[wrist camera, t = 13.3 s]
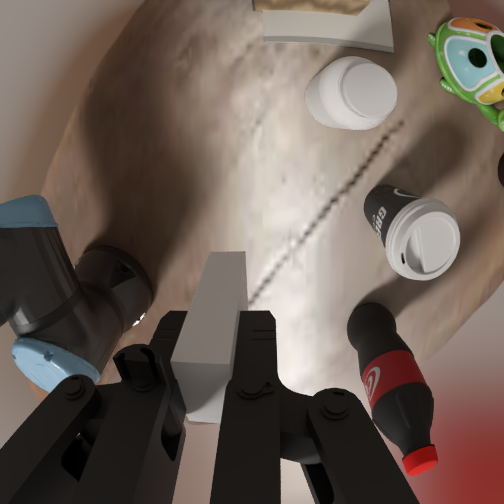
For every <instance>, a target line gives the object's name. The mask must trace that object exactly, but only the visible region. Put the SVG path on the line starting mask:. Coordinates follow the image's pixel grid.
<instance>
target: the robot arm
mask: <svg viewBox="0 0 504 504" xmlns="http://www.w3.org/2000/svg"><path fill="white" fill-rule="evenodd" d="M57 227H58V224H57V223H56V222H55V220H54V218H53V215H52V213H51V210H50V208H49V205H48V203H47V201H46V199H45V198H44V197H42V196H40V195H29V196H24V197H21V198H17V199H14V200H11V201H8V202H5V203H2V204H0V327H1V326H2V325H3V324H5V323H6V322H9V324H10V326H11V327H12V329H13V331H14V332H15V334H16V336H17V339H15V341H14V342H13V346H12V354H13V359H14V361H15V362H16V364H17V366H18V367H19V368H20V369H21V371H22V372H23V373H24V374H25V375H26V376H27V377H28V378H29V379H30V380H31V381H33V382H34V383H35V384H37V385H38V386H40V387H41V388H43V389H44V390H46V391H48V392H50V394H49V395H48V396H47V397H46V398H45V399H44V400H43V401H42V402H41V403H40V405H39V406H38V407H37V408H36V409H35V410H34V411H33V413H32V414H31V415H30V416H29V417H28V418H27V419H26V420H25V421H24V422H23V424H22V425H21V426H20V427H19V428H18V429H17V430H16V432H15V433H14V434H13V435H12V436H11V437H10V439H9V440H8V441H7V442H6V443H5V444H4V446H3V447H2V448H1V449H0V504H172V500H173V495H174V490H175V485H176V480H177V475H178V470H179V465H180V460H181V455H182V451H183V446H184V442H185V437H186V430H185V427H184V424H183V423H184V418H185V414H186V413H187V416H188V419H189V421H198V422H212V423H221V424H220V431H219V438H218V446H217V453H216V460H215V467H214V475H213V482H212V490H211V498H210V504H281V471H280V458H283V459H287V460H291V461H295V462H299V463H300V464H301V467H302V470H303V472H304V475H305V478H306V480H307V483H308V486H309V488H310V491H311V494H312V496H313V498H314V502H315V504H420V503H419V501H418V500H417V498H416V496H415V494H414V493H413V491H412V489H411V487H410V486H409V484H408V482H407V480H406V479H405V477H404V475H403V473H402V472H401V470H400V468H399V466H398V465H397V463H396V461H395V460H394V458H393V456H392V454H391V453H390V451H389V449H388V447H387V445H386V444H385V442H384V440H383V439H382V437H381V435H380V433H379V432H378V430H377V428H376V427H375V425H374V423H373V421H372V420H371V418H370V417H369V415H368V413H367V411H366V410H365V408H364V406H363V405H362V403H361V401H360V400H359V399H358V398H357V397H356V395H355V394H353V393H351V392H349V391H347V390H345V389H340V388H328V389H324V390H322V391H319V392H317V393H316V394H315V395H314V396H308V395H304V394H299V393H296V392H293V391H291V390H290V389H288V388H286V387H285V386H284V385H283V384H282V383H281V381H280V379H279V377H278V372H277V343H276V319H275V318H274V317H273V315H272V314H271V312H270V311H247V310H248V296H247V276H246V255H245V251H243V252H210V255H209V257H208V260H207V262H206V265H205V267H204V270H203V273H202V275H201V278H200V281H199V283H198V286H197V289H196V291H195V294H194V297H193V299H192V302H191V305H190V307H189V310H188V311H169V312H168V313H167V314H166V315H165V316H163V317H162V318H161V320H160V322H159V324H158V326H157V328H156V330H155V333H154V335H153V339H151V341H150V343H149V345H146V344H133V345H130V346H127V347H124V348H123V349H121V350H120V351H118V352H117V353H116V354H115V356H114V357H113V360H114V362H115V365H116V367H117V369H118V372H119V374H120V376H121V378H122V380H121V382H119V383H114V384H105V385H95V383H96V382H97V381H98V380H99V378H100V376H101V374H102V372H103V370H104V368H105V366H106V364H107V362H108V360H109V358H110V356H111V354H112V352H113V350H114V349H115V347H116V345H117V343H118V341H119V339H120V337H121V336H122V334H123V333H125V332H126V331H128V330H129V329H130V328H131V327H132V326H134V325H136V324H138V323H139V322H140V321H141V320H142V319H143V318H144V316H145V315H146V313H147V311H148V309H149V308H150V305H151V302H152V288H151V284H150V281H149V278H148V276H147V274H146V273H145V271H144V270H143V268H142V267H141V266H140V264H139V263H138V262H137V261H136V260H135V259H133V258H132V257H131V256H130V255H128V254H127V253H125V252H123V251H121V250H119V249H116V248H113V247H108V246H99V247H95V248H92V249H90V250H89V251H87V252H86V253H85V254H84V255H83V256H81V257H80V258H79V260H78V261H77V262H76V264H75V266H74V268H73V266H72V264H71V261H70V259H69V256H68V254H67V252H66V249H65V247H64V244H63V241H62V239H61V236H60V233H59V230H58V228H57ZM78 433H80V435H78ZM77 435H78V436H77ZM76 436H77V437H76Z"/></svg>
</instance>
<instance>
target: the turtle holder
mask: <svg viewBox="0 0 504 504" xmlns="http://www.w3.org/2000/svg"><path fill="white" fill-rule="evenodd" d="M428 40H429V42H430V44H431V46H432V47H433V48H434V49H435V56H436V59H437V62H438V65H439V68H440V70H441V72H442V75H443V76H444V78H445V79H441V80H440V84H441V86H442V88H443V89H444V90H446V91H447V92H449V93H452V94H457V95H458V96H459V97H460V98H461V99H463V100H465V101H467V102H469V103H472V104H476V105H477V106H478V108H479V109H480V111H481V113H482V114H483V115H484V116H485V117H486V118H487V119H488V120H489V121H490V122H491V123H493V124H494V125H496V126H499V128H500V129H501V131H502V132H504V108H503V109H501V110H499V109H497V108H495V107H494V106H493V105H492V104H493V103H496V102H499V101H502V100H504V33H503V32H501V31H500V30H499V29H498V28H497V27H496V26H494V25H492V24H490V23H487V22H485V21H483V20H480V19H477V18H471V17H457V18H454V19H452V20H450V21H448V22H446V23H444V24H442V25H441V26H440V27H439V28H438V30H437V32H436V36H434V35H433V34H428Z"/></svg>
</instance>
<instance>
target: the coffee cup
mask: <svg viewBox="0 0 504 504" xmlns="http://www.w3.org/2000/svg"><path fill="white" fill-rule="evenodd" d="M364 213H365V216H366V218H367V220H368V221H369V223H370V224H371V226H372V228H373V229H374V231H375V232H376V234H377V235H378V237H379V239H380V240H381V242H382V244H383V245H384V247H385V249H386V255H387V259H388V261H389V263H390V265H391V267H392V268H393V269H394V270H395V271H396V272H397V273H398V274H400V275H402V276H404V277H406V278H409V279H414V280H430V279H433V278H435V277H437V276H439V275H441V274H442V273H443V272H445V271H446V270H447V269H448V268H449V267H450V265H451V264H452V263H453V261H454V259H455V257H456V255H457V253H458V250H459V245H460V232H459V228H458V224H457V221H456V218H455V216H454V214H453V213H452V211H451V210H450V208H449V207H448V206H447V205H446V204H444V203H443V202H442V201H440V200H437V199H434V198H421V197H419V196H416V195H413V194H411V193H408V192H406V191H403V190H400V189H398V188H395V187H392V186H389V185H381V186H378V187H376V188H374V189H373V190H371V191H370V193H369V194H368V195H367V197H366V199H365V203H364Z"/></svg>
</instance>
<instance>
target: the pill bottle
mask: <svg viewBox="0 0 504 504" xmlns="http://www.w3.org/2000/svg"><path fill="white" fill-rule="evenodd" d="M397 96H398V92H397V86H396V83H395V81H394V79H393V77H392V76H391V74H390V73H389V72H388V71H387V70H385V69H384V68H383V67H381V66H380V65H377V64H375V63H374V62H372V61H370V60H368V59H365V58H362V57H357V56H347V57H342V58H339V59H337V60H335V61H333V62H332V63H330V64H329V65H328V66H327V67H326V68H324V69H323V70H322V71H321V72H319V73H318V74H317V75H316V76H315V77H314V78H312V80H311V81H310V82H309V84H308V86H307V88H306V92H305V102H306V106H307V109H308V111H309V112H310V114H311V115H312V116H313V118H314V119H316V120H317V121H318V122H320V123H321V124H323V125H325V126H328V127H332V128H342V129H352V130H367V129H371V128H374V127H376V126H378V125H379V124H381V123H382V122H383V121H384V120H385V119H386V118H387V117H388V115H389V114H390V112H391V111H392V110H393V109H394V107H395V104H396V102H397Z"/></svg>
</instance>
